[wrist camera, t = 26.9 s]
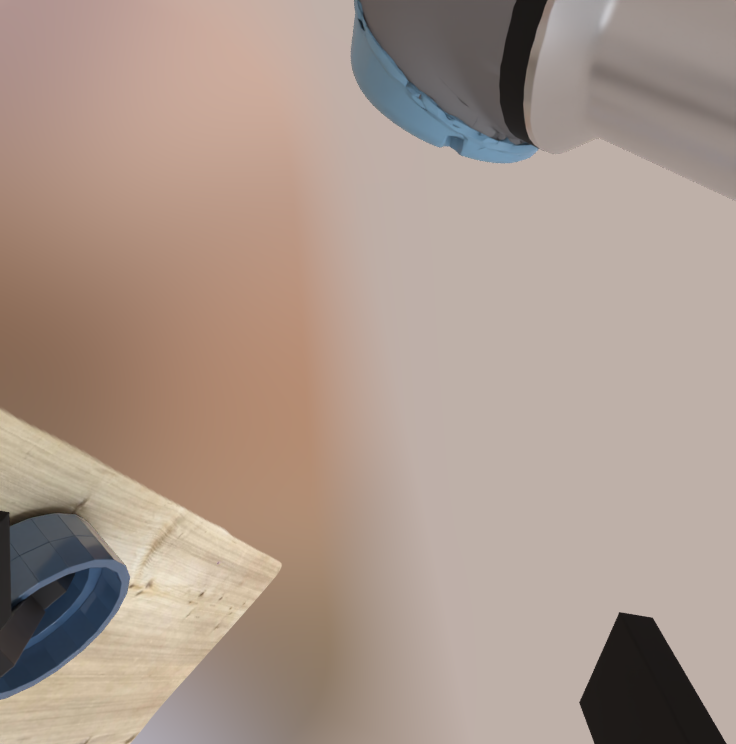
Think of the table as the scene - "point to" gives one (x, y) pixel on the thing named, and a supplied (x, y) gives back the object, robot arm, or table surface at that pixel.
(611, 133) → the robot arm
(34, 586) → the bowl
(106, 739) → the table surface
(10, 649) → the stepped dark block
